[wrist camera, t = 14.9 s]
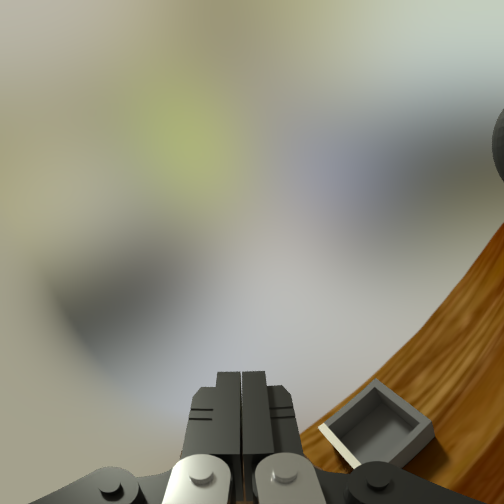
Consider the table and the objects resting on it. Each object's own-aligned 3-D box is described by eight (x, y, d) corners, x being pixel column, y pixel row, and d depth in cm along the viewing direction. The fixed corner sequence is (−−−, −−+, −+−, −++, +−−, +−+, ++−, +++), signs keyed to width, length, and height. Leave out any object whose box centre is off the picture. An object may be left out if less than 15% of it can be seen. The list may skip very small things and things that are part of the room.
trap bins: (384, 395, 40) (375, 378, 38) (435, 436, 30) (431, 420, 28) (185, 529, 34) (163, 520, 32) (204, 583, 24) (179, 579, 22)
